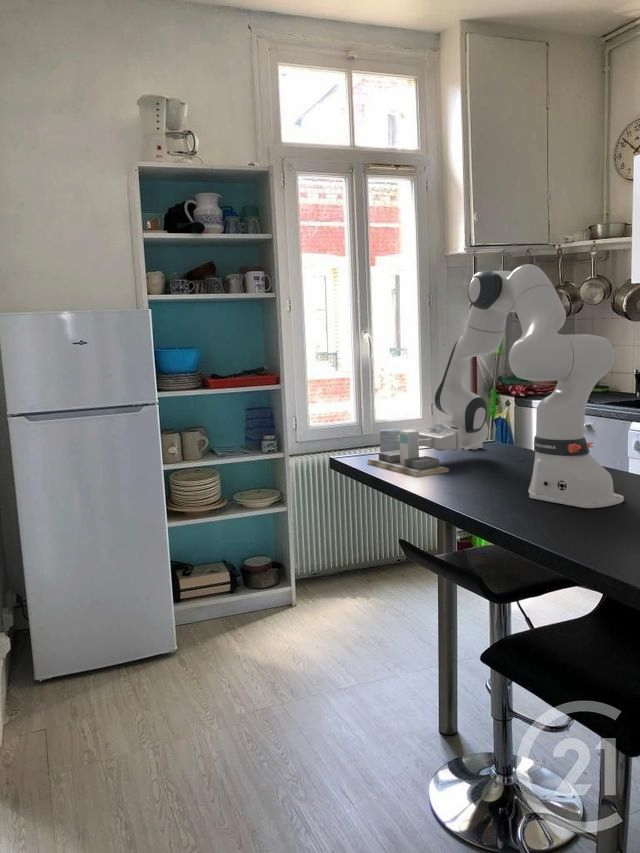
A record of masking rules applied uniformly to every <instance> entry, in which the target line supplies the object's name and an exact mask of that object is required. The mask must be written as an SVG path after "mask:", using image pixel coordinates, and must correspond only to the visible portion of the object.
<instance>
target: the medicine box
mask: <svg viewBox="0 0 640 853" xmlns="http://www.w3.org/2000/svg"><path fill="white" fill-rule="evenodd" d="M402 430H405V429H404V428H387V429H385V428H383V429H380V430H379V451H380V452H379V453H382V452H389V451H397V450H400V442H396V436H400V431H402Z"/></svg>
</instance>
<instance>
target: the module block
mask: <svg viewBox="0 0 640 853" xmlns="http://www.w3.org/2000/svg"><path fill="white" fill-rule="evenodd" d="M416 440H419V431H415V430H407V429H404V430H403V431H400V464H403V465H405V459H409V458H416V457H420V446H416V445H415V441H416Z"/></svg>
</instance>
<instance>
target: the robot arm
mask: <svg viewBox="0 0 640 853" xmlns="http://www.w3.org/2000/svg"><path fill="white" fill-rule="evenodd" d="M467 297H468V300H469V302H470V304H471V307H470V310H469V314H468V316H467V317H468V318H467V321H466V327H465V330H464V331H463V334H462V335H461V336H460V337H459V338H457V340H456V342H455V343H454V345H453V348H452V350H451V353H450V355H449V358H448V362H447V365H446V367H445V371H444V374H443V377H442V379H441V382H440V384H439V386H438V387H437V389H436V391H435V394H434V405H435V407H436V409H437V410H438V411H440V412H441V413H444V414H446V415H448V416H449V417H452V419H451V420H450V421H443V422H436V423H434V424H432V425H431V427H430V428H429V429H424V428H409V429H407V428H406V430H415V431H419V440H416V441H415V445H416V446H419V447H427V448H432V449H434V450H436V452H437V451H438V452H448V451H453V452H457V451H458V452H459V451H462V448H467V447H472V446H476V445H479V444H481V443H482V444H483V442H485V441H486V440H487V438H488V435H489V426H488V424H487V422H486V420H487V417H488V404H487V401H486V400H485V398H483V397H481V396H479V395H478V394H476V393H474V392H472V391H471V390H469V389H466V388H465V387H464V385H463V383H462V380H463V378H464V375H465V371H466V370H467V366H468V364H469V361H470V360H471V359H472V358H473V357H485V356H489V355H491V354H493V353H495V352H496V351H497V350H499V348H500V347H501V345H502V342H503V339H504V335H505V330H506V324H507V318H508V314H510V313H515V314H516V316H517V319H518V321H519V324H520V327H521V331H522V332H521V333H522V334H521V336H520V337H519V338H518V339H517V340H516V341H515V342H514V343H513V345H512V346H511V348H510V350H509V353H508V364H509V368H510V370H511V372H512V373H513V374H514V376H515V377H516V378H518V379H521V380H525V381H526V380H527V381H532V382H549V381H552V382H553V381H557V384H556V386H555V388H554V389H553V391H552V392H551V393H550V394H549V395H547V396H546V397H544V398H542V400H540V401H539V403H538V404H537V407H536V414H535V415H536V419H535V420H536V422H535V425H536V427H535V431H536V432H535V436H534V438H533V451H534V462H533V469H532V470H533V471H532V474H531V480H530V483H529V484H530V485H529V487H528V490H527V492H528V494H529V496H528V497H529V499H535V500H538V501H539V500H540V501H545V502H549V503H556V504H562V505H566V506H572V507H578V508H584V509H595V508H597V509H598V508H605V507H611V506H615V505H619V504H621V503H623V502H624V500H625V499H624V495H621V494H618V493H616V492H614V481H613V477H612V474H611V472H609V471H608V470H606V468H604V467H603V465H601V464H600V463H599V462H598V461H597V460H596V459H595V458H594V457H593V456H592V455H591V454H590V448H594V446H593V444H594V442H587V440H586V437H584V434H585V432H584V431H585V418H586V416H585V415H586V408H587V404H588V400H589V397H590V396H591V393H592V391H593V389H594V388H595V386H596V385H597V383H598V382H600V380H601V379H602V378H603V377H604V376H605V375H607V374H608V373H609V372H610V370H612V368H613V365H614V363H615V350H614V347H613V345H612V343H611V342H610V341H609V339H608V338H607V337H604V336H600V335H595V334H594V335H593V334H588V333H577V334H575V333H574V334H560V333H558V332H559V331H560V330H561V329H562V327H563V326H564V325H565V322H566V320H567V312H566V308H565V307H564V304H563V303H562V301H561V299H560V297H559V294H558V293H557V290H556V288H555V286H554V285H553V283H552V282H551V279H550V278H549V277H548V275H546V272H544V271H543V270H542V269H541V268H540V266H538V265H535V264H530V263H528V264H522V265H520V266H518V267H516V268H515V269H514V270H513V271H510V270H495V271H494V270H489V269H488V270H482V271H478V272H476V273H475V274H474V275H473V276H472V277H471V278H470V281H469V284H468V288H467ZM402 431H403V430H402ZM396 442H400V436H396Z"/></svg>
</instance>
